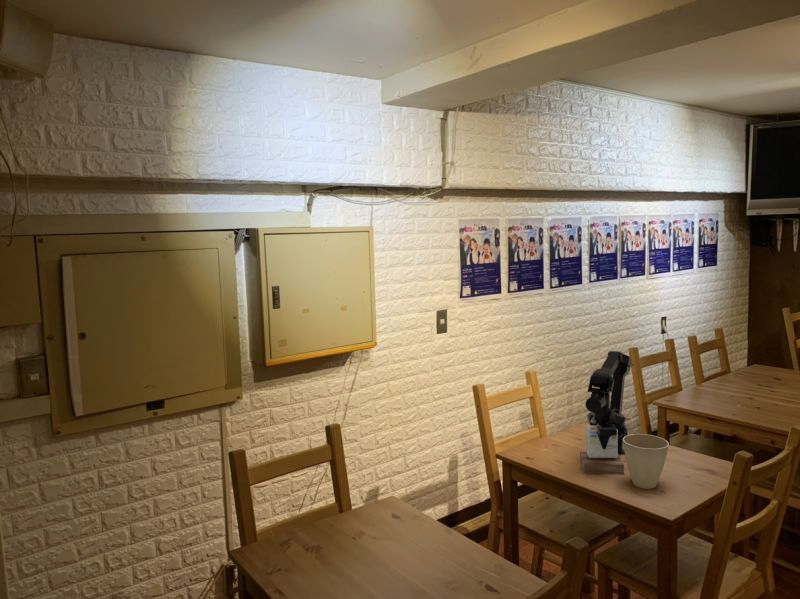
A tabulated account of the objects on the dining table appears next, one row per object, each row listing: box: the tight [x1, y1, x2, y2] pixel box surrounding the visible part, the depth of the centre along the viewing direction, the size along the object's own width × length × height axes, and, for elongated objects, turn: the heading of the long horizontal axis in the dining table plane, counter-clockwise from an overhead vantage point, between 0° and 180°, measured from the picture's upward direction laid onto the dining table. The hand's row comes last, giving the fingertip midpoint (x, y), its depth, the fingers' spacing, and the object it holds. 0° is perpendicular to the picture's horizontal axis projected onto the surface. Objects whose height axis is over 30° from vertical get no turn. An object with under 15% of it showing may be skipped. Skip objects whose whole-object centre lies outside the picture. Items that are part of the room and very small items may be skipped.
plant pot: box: [623, 433, 670, 490], centre depth 212 cm, size 15×15×16 cm
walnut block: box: [579, 451, 625, 475], centre depth 229 cm, size 12×14×4 cm
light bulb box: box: [585, 424, 619, 458], centre depth 228 cm, size 11×7×11 cm, turn 85°
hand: (601, 445), depth 228 cm, fingers closed on light bulb box, 7 cm apart
